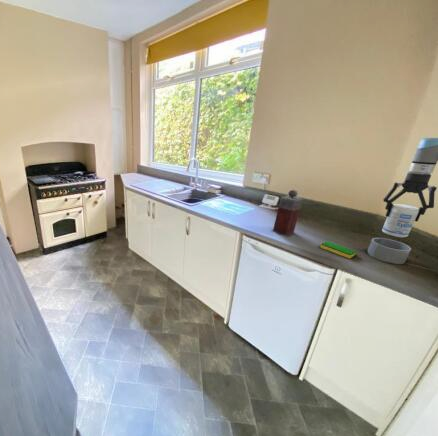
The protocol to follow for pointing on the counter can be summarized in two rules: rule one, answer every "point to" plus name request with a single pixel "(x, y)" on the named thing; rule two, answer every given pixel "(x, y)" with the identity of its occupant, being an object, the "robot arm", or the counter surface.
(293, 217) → the glass decanter
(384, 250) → the gray round bowl
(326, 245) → the dish sponge
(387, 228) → the supplement tub
